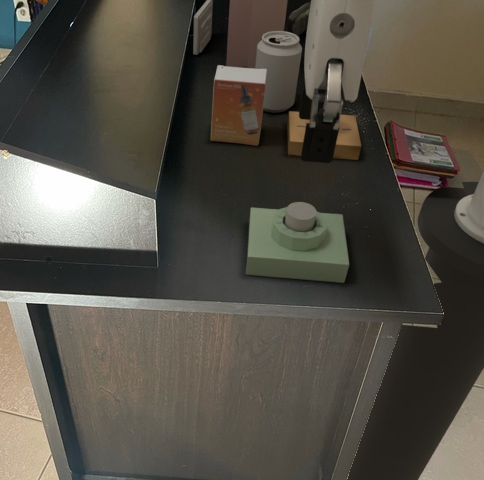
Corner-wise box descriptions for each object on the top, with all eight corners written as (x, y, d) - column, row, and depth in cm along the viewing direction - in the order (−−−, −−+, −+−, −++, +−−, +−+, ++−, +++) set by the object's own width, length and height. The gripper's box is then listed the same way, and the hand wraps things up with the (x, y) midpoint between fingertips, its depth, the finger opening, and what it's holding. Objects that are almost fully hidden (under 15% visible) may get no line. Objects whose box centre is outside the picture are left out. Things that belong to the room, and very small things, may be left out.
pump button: (313, 216, 72) (316, 202, 70) (314, 234, 69) (317, 220, 68) (284, 214, 72) (286, 200, 71) (284, 231, 70) (286, 218, 68)
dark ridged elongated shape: (305, -1, 131) (283, 18, 121) (318, 1, 130) (296, 20, 120) (301, 22, 134) (280, 42, 124) (314, 24, 134) (293, 45, 123)
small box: (209, 142, 94) (212, 79, 86) (213, 125, 98) (216, 63, 90) (259, 146, 93) (266, 83, 86) (261, 129, 97) (267, 67, 90)
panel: (352, 129, 98) (355, 114, 96) (358, 160, 90) (361, 145, 89) (287, 124, 98) (289, 110, 97) (287, 155, 91) (290, 140, 89)
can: (247, 96, 106) (253, 29, 97) (286, 94, 107) (295, 27, 98) (257, 116, 100) (265, 46, 92) (299, 113, 101) (309, 44, 93)
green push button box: (338, 232, 77) (345, 201, 74) (344, 283, 70) (353, 251, 66) (248, 225, 78) (252, 194, 74) (245, 274, 71) (249, 243, 67)
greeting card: (278, 61, 117) (287, -19, 107) (291, 76, 112) (303, -7, 102) (224, 66, 115) (229, -15, 105) (236, 82, 110) (242, -2, 100)
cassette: (199, 56, 119) (200, 17, 113) (190, 55, 119) (191, 16, 114) (213, 35, 127) (215, -2, 122) (205, 34, 127) (206, -3, 122)
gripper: (405, -5, 44) (356, 186, 56) (378, -62, 57) (342, 105, 69) (307, -11, 45) (279, 179, 57) (301, -66, 57) (279, 100, 69)
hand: (314, 138), depth 63 cm, fingers open, 8 cm apart
